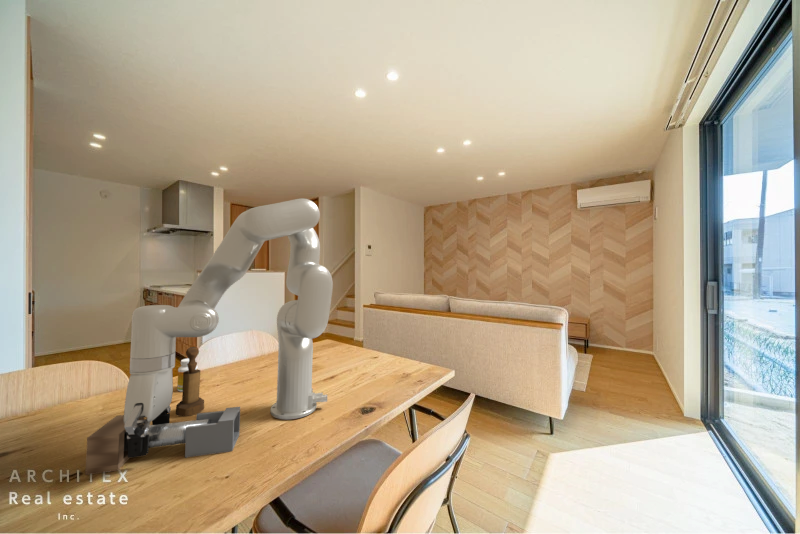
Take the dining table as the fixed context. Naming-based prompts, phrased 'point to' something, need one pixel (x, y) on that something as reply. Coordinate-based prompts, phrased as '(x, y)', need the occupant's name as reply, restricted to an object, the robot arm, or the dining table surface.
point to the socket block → (107, 447)
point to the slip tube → (167, 433)
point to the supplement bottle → (180, 373)
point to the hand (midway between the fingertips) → (150, 442)
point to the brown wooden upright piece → (190, 387)
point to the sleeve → (213, 433)
